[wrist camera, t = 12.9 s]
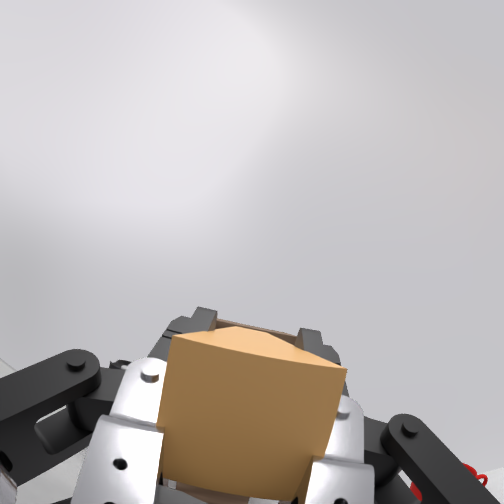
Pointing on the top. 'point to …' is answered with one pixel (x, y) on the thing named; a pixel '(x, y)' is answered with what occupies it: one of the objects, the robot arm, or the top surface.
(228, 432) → the tan block
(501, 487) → the top surface
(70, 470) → the top surface
